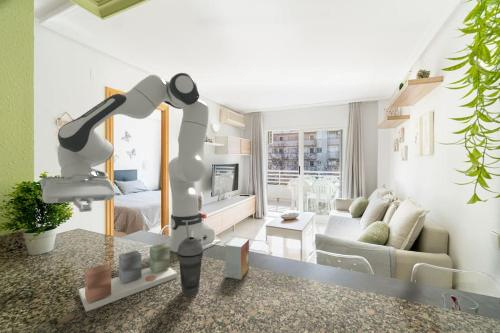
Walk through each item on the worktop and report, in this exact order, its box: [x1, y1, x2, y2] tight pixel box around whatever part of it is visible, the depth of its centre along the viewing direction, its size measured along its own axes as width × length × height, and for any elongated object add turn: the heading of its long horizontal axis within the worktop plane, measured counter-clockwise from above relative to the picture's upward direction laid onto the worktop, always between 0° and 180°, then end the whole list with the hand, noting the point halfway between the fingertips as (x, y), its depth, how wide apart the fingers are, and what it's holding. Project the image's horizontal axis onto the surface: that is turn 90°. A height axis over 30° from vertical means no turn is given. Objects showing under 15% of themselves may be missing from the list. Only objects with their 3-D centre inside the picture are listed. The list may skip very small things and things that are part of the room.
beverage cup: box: [176, 222, 204, 297], centre depth 65 cm, size 7×7×20 cm
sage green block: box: [149, 243, 171, 272], centre depth 76 cm, size 5×4×7 cm
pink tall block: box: [84, 263, 112, 303], centre depth 60 cm, size 5×4×7 cm
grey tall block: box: [118, 250, 142, 283], centre depth 69 cm, size 5×4×7 cm
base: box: [78, 266, 178, 313], centre depth 69 cm, size 24×10×2 cm, turn 134°
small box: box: [224, 237, 250, 280], centre depth 77 cm, size 8×6×10 cm
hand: (86, 210), depth 76 cm, fingers closed
